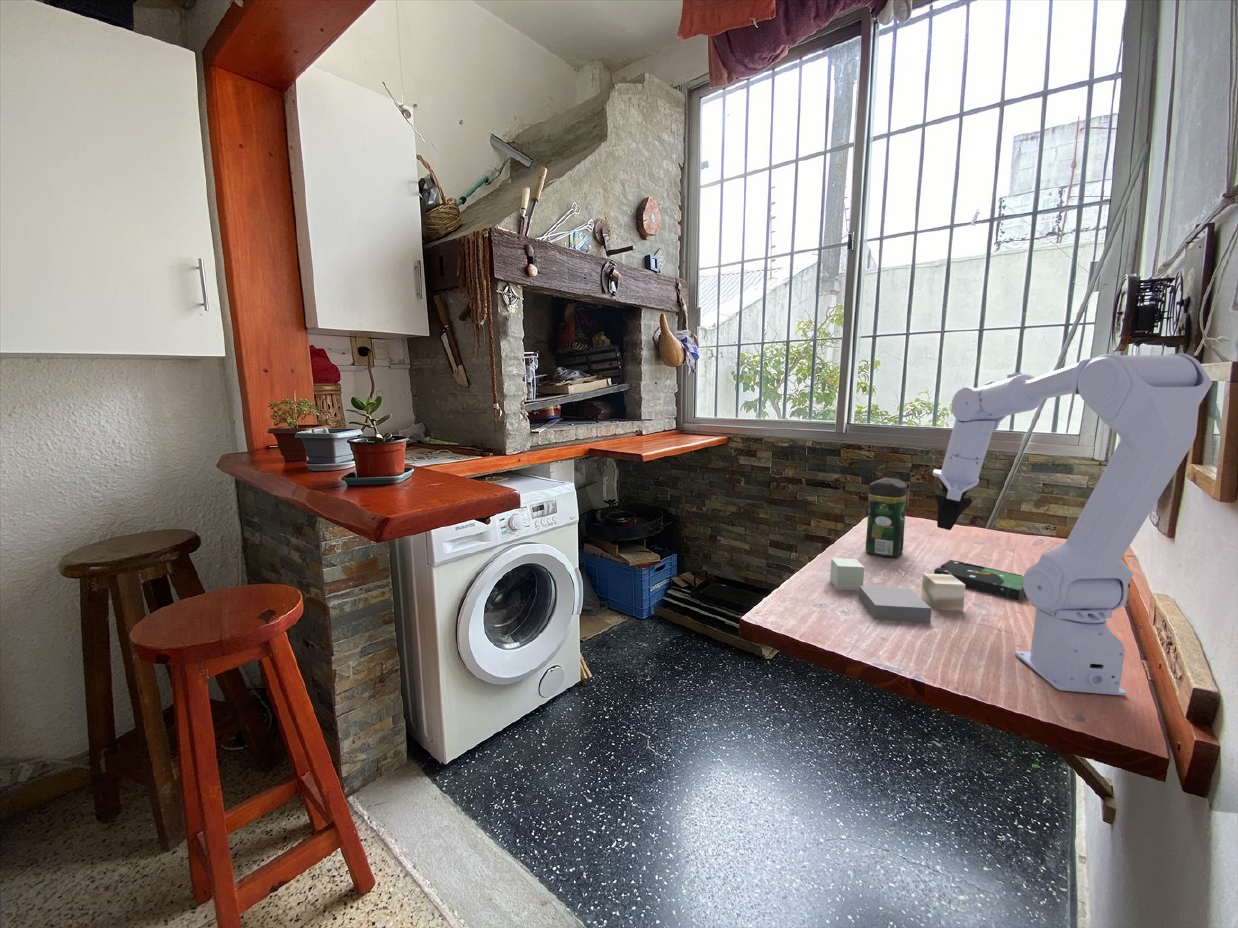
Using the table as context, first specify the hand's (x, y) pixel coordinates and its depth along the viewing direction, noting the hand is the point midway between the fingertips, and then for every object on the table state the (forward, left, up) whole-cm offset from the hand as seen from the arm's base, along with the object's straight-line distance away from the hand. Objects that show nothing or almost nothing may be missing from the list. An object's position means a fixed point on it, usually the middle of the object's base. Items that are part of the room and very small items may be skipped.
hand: (945, 519), depth 93 cm
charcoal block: (-8, +11, -16) cm, 21 cm away
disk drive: (+8, -12, -16) cm, 22 cm away
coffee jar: (+27, +1, -16) cm, 31 cm away
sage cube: (+3, +16, -15) cm, 23 cm away
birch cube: (-4, +1, -15) cm, 16 cm away
